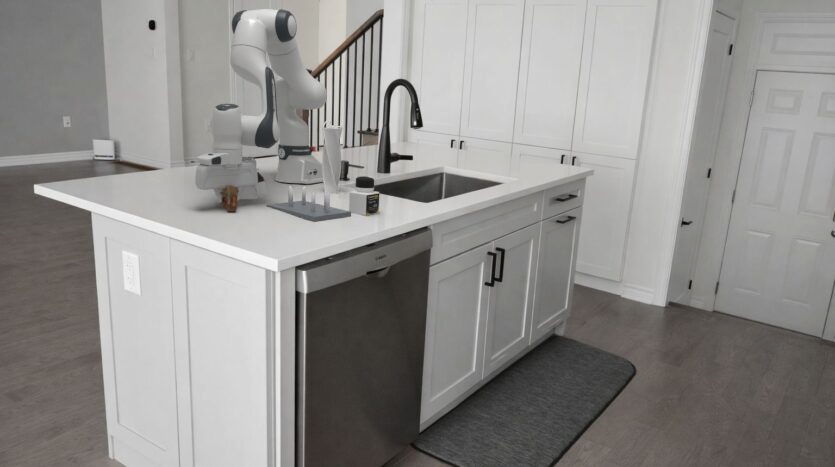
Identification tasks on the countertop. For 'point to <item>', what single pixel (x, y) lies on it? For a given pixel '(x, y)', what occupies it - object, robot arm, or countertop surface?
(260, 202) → the countertop surface
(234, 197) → the tin
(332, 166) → the skyscraper
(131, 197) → the countertop surface
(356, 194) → the medicine bottle
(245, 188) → the spread jar
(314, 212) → the pin tray
